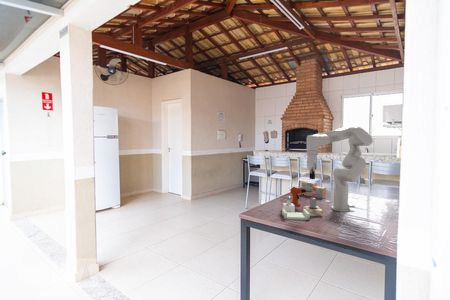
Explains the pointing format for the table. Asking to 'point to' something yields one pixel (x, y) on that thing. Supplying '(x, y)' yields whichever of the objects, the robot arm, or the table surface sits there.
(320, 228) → the table surface
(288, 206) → the housing
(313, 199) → the grey round peg
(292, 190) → the toy drill
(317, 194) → the stack of blocks
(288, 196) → the grey ball-topped peg
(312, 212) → the socket
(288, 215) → the tray
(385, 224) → the table surface
